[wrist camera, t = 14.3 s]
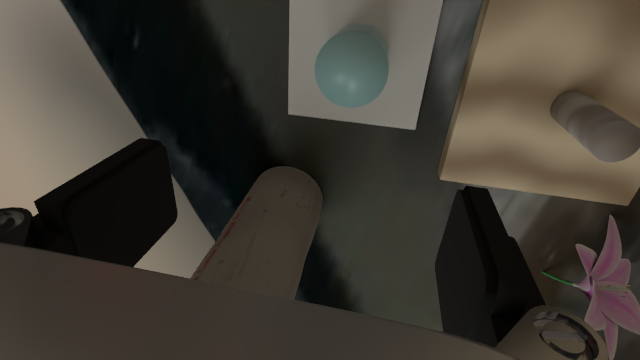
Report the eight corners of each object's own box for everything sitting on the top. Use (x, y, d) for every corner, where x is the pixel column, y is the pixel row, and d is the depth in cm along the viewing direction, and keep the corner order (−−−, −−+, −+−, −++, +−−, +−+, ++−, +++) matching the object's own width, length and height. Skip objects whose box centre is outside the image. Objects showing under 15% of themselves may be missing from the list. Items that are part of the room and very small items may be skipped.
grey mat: (414, 127, 32) (415, 129, 32) (289, 112, 34) (288, 114, 33) (446, -21, 26) (447, -21, 26) (292, -32, 28) (290, -32, 27)
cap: (394, 24, 28) (394, 35, 23) (384, 89, 31) (382, 111, 25) (330, 19, 28) (316, 28, 23) (326, 82, 31) (312, 103, 26)
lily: (606, 299, 40) (711, 350, 30) (512, 330, 38) (592, 393, 29) (594, 198, 38) (702, 219, 28) (495, 227, 36) (574, 259, 27)
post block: (615, 193, 32) (684, 261, 24) (437, 169, 34) (450, 225, 26) (731, -2, 24) (890, 9, 16) (488, -19, 26) (527, -16, 18)
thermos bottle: (241, 198, 40) (24, 516, 17) (278, 151, 36) (60, 483, 13) (296, 236, 42) (168, 581, 18) (337, 196, 38) (242, 569, 14)
